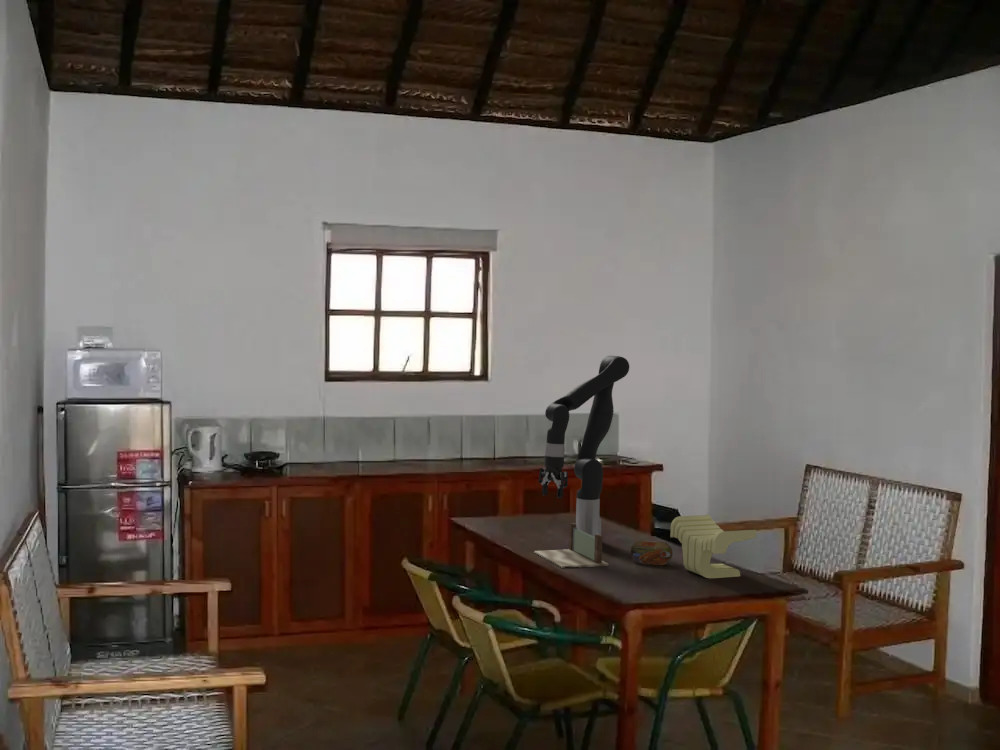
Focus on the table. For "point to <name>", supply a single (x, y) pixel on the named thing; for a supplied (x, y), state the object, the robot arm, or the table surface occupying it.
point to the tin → (651, 552)
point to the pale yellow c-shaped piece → (706, 544)
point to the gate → (583, 543)
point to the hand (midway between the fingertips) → (552, 496)
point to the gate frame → (574, 554)
